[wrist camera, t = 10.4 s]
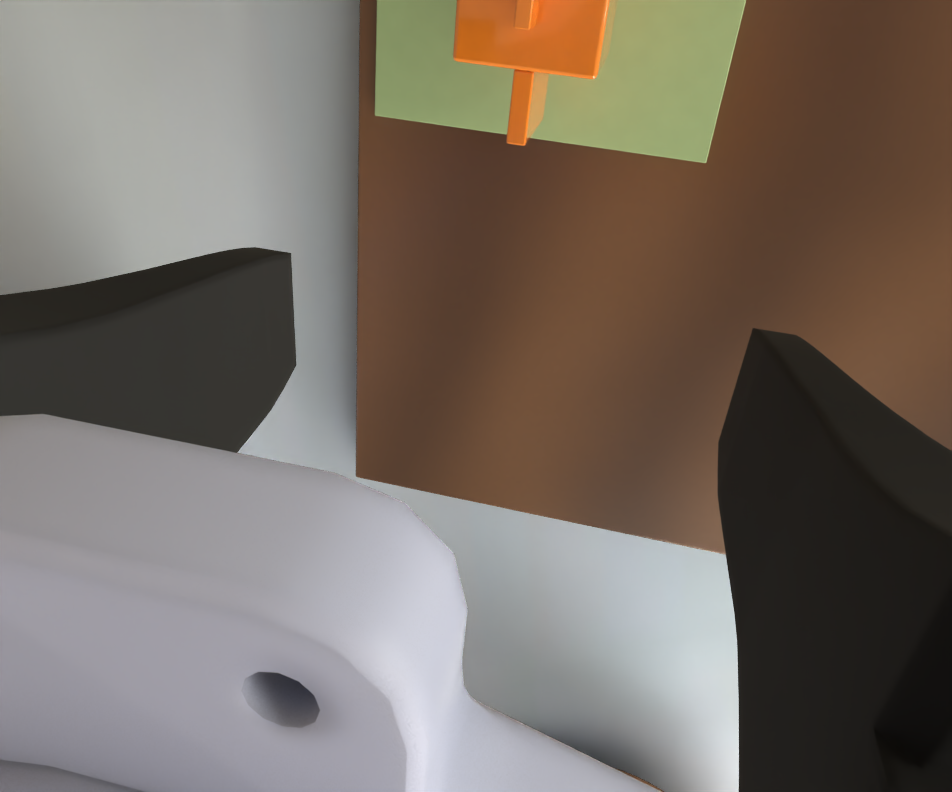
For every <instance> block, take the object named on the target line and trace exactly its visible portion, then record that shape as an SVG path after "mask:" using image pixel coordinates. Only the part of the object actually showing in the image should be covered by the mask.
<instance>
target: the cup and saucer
mask: <svg viewBox="0 0 952 792" xmlns="http://www.w3.org/2000/svg"><path fill="white" fill-rule="evenodd" d="M612 768H613V767H612ZM614 769H616V768H614ZM617 770H619V769H617ZM619 771H621V772H623V773H625V774H627V775H629V776H631V777H633V778H635V779H637V780H639V781H641V782H643V783H645V784H647V785H649V786H651V787H653V788H655V789H657V790H659V791H661V792H664V791H662V790H661V789H659V788H658V787H656V786H654V785H652V784H651V783H649V782H647V781H645V780H643V779H641V778H639V777H637V776H634V775H632V774H629V773H627V772H625V771H622V770H619Z"/></svg>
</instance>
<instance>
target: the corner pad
mask: <svg viewBox="0 0 952 792" xmlns="http://www.w3.org/2000/svg"><path fill="white" fill-rule="evenodd" d="M456 3H457V0H377V24H376V77H375V115H376V116H382V117H389V118H396V119H403V120H410V121H417V122H423V123H430V124H437V125H444V126H451V127H458V128H465V129H472V130H479V131H486V132H493V133H500V134H507V129H508V120H509V111H510V101H511V92H512V83H513V73H514V70H515V69H507V68H500V67H492V66H484V65H477V64H469V63H462V62H457V61H455V60H454V58H453V47H454V32H455V17H456ZM745 3H746V0H617V6H616V12H615V18H614V24H613V30H612V36H611V42H610V48H609V54H608V56H607V58H606V60H605V62H604V64H603V66H602V68H601V70H600V72H599V74H598V75H597V77H596V79H592V80H590V79H583V78H575V77H568V76H560V75H553V74H549V77H548V85H547V93H546V100H545V108H544V116H543V120H542V121H541V123H540V124H539V126H538V127H537V129H536V130H535V132H534V133H533V134H532V136H531V137H530V138H535V139H542V140H549V141H555V142H562V143H569V144H576V145H583V146H590V147H597V148H604V149H611V150H618V151H625V152H632V153H639V154H646V155H653V156H660V157H667V158H674V159H681V160H687V161H694V162H701V163H706V161H707V157H708V153H709V149H710V145H711V141H712V137H713V133H714V129H715V125H716V121H717V116H718V112H719V108H720V104H721V100H722V96H723V92H724V88H725V84H726V80H727V76H728V72H729V68H730V64H731V60H732V55H733V51H734V47H735V43H736V39H737V35H738V31H739V27H740V23H741V19H742V15H743V11H744V7H745Z"/></svg>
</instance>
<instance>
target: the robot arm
mask: <svg viewBox="0 0 952 792" xmlns="http://www.w3.org/2000/svg"><path fill="white" fill-rule="evenodd" d="M295 367H296V350H295V329H294V308H293V287H292V267H291V253H287V252H280V251H274V250H268V249H262V248H256V247H254V248H240V249H233V250H227V251H222V252H217V253H212V254H208V255H204V256H199V257H195V258H191V259H187V260H183V261H179V262H175V263H170V264H166V265H162V266H158V267H154V268H150V269H146V270H141V271H137V272H132V273H128V274H123V275H118V276H114V277H109V278H104V279H100V280H95V281H91V282H86V283H81V284H75V285H70V286H64V287H58V288H51V289H45V290H37V291H30V292H22V293H15V294H6V295H0V792H661V791H659V790H657V789H655V788H653V787H651V786H649V785H647V784H645V783H643V782H641V781H639V780H637V779H635V778H633V777H631V776H629V775H627V774H625V773H623V772H621V771H619V770H617V769H614V768H612V767H610V766H608V765H606V764H604V763H602V762H600V761H598V760H596V759H594V758H592V757H590V756H588V755H586V754H584V753H582V752H580V751H578V750H576V749H574V748H572V747H570V746H568V745H566V744H564V743H562V742H560V741H558V740H556V739H554V738H552V737H549V736H547V735H545V734H543V733H541V732H539V731H537V730H535V729H533V728H531V727H529V726H527V725H525V724H523V723H521V722H519V721H517V720H515V719H513V718H511V717H509V716H507V715H505V714H503V713H501V712H499V711H497V710H495V709H493V708H491V707H489V706H487V705H485V704H482V703H480V702H478V701H476V700H475V699H474V698H473V697H472V696H471V695H470V694H469V693H468V692H467V690H466V688H465V686H464V680H463V668H462V656H463V647H464V637H465V628H466V619H467V609H468V608H467V604H466V600H465V596H464V592H463V588H462V584H461V580H460V576H459V572H458V567H457V563H456V559H455V555H454V553H453V552H452V551H451V550H450V549H449V548H448V547H447V546H446V545H445V544H444V543H443V542H442V541H441V540H440V539H439V537H438V536H437V535H436V534H435V533H434V532H433V531H432V530H431V529H430V528H429V527H428V526H427V525H426V524H425V523H424V522H423V521H422V520H421V519H420V518H419V517H418V516H417V514H416V513H415V512H414V511H413V510H412V509H411V508H410V507H409V506H408V505H407V504H406V503H405V502H403V501H400V500H398V499H395V498H393V497H391V496H388V495H386V494H384V493H381V492H379V491H377V490H374V489H372V488H370V487H367V486H365V485H362V484H360V483H358V482H355V481H353V480H351V479H348V478H346V477H344V476H341V475H339V474H336V473H334V472H329V471H324V470H319V469H314V468H309V467H304V466H299V465H294V464H289V463H284V462H279V461H274V460H269V459H264V458H259V457H254V456H249V455H244V454H239V453H237V452H238V451H239V450H240V448H241V447H242V446H243V445H244V443H245V442H246V441H247V440H248V438H249V437H250V436H251V435H252V433H253V432H254V431H255V430H256V428H257V427H258V426H259V425H260V423H261V422H262V421H263V420H264V418H265V417H266V416H267V414H268V413H269V412H270V411H271V409H272V408H273V406H274V404H275V402H276V401H277V399H278V397H279V396H280V394H281V392H282V391H283V389H284V387H285V385H286V383H287V381H288V380H289V378H290V376H291V374H292V372H293V370H294V368H295ZM718 502H719V510H720V517H721V524H722V531H723V538H724V545H725V552H726V558H727V565H728V572H729V579H730V585H731V592H732V599H733V606H734V612H735V622H736V632H737V645H738V687H739V792H952V451H951V450H949V449H948V448H946V447H945V446H943V445H941V444H940V443H938V442H937V441H935V440H934V439H932V438H931V437H929V436H928V435H926V434H925V433H923V432H922V431H921V430H919V429H918V428H916V427H915V426H914V425H912V424H911V423H909V422H908V421H907V420H905V419H904V418H902V417H901V416H900V415H898V414H897V413H895V412H894V411H893V410H891V409H890V408H889V407H887V406H886V405H885V404H884V403H882V402H881V401H880V400H878V399H877V398H876V397H875V396H873V395H872V394H871V393H869V392H868V391H867V390H866V389H865V388H863V387H862V386H861V385H860V384H858V383H857V382H856V381H855V380H853V379H852V378H851V377H850V376H849V375H847V374H846V373H845V372H844V371H843V370H841V369H840V368H839V367H838V366H837V365H835V364H834V363H833V362H832V361H831V360H830V359H828V358H827V357H826V356H825V355H823V354H822V353H821V352H820V351H819V350H817V349H816V348H815V347H813V346H812V345H811V344H810V343H808V342H807V341H805V340H804V339H802V338H801V337H799V336H797V335H793V334H787V333H781V332H775V331H769V330H763V329H756V328H753V329H752V332H751V336H750V339H749V342H748V346H747V349H746V352H745V355H744V359H743V362H742V365H741V369H740V372H739V375H738V379H737V382H736V385H735V389H734V392H733V395H732V399H731V402H730V405H729V408H728V412H727V415H726V418H725V422H724V425H723V428H722V432H721V435H720V438H719V442H718Z"/></svg>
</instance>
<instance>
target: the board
mask: <svg viewBox="0 0 952 792" xmlns="http://www.w3.org/2000/svg"><path fill="white" fill-rule="evenodd" d="M376 24H377V0H360V33H359V152H358V271H357V390H356V477H359V478H364V479H369V480H373V481H378V482H383V483H388V484H392V485H397V486H402V487H407V488H411V489H416V490H421V491H426V492H430V493H435V494H440V495H445V496H449V497H454V498H459V499H464V500H468V501H473V502H478V503H483V504H487V505H492V506H497V507H502V508H506V509H511V510H516V511H521V512H525V513H530V514H535V515H540V516H544V517H549V518H554V519H559V520H564V521H568V522H573V523H578V524H583V525H587V526H592V527H597V528H602V529H606V530H611V531H616V532H621V533H625V534H630V535H635V536H640V537H644V538H649V539H654V540H659V541H663V542H668V543H673V544H678V545H682V546H687V547H692V548H697V549H701V550H706V551H711V552H716V553H720V554H725V555H726V552H725V545H724V538H723V531H722V524H721V517H720V510H719V502H718V442H719V438H720V435H721V432H722V428H723V425H724V422H725V418H726V415H727V412H728V408H729V405H730V402H731V399H732V395H733V392H734V389H735V385H736V382H737V379H738V375H739V372H740V369H741V365H742V362H743V359H744V355H745V352H746V349H747V346H748V342H749V339H750V336H751V332H752V329H753V328H756V329H763V330H769V331H775V332H781V333H787V334H793V335H797V336H799V337H801V338H802V339H804V340H805V341H807V342H808V343H810V344H811V345H812V346H813V347H815V348H816V349H817V350H819V351H820V352H821V353H822V354H823V355H825V356H826V357H827V358H828V359H830V360H831V361H832V362H833V363H834V364H835V365H837V366H838V367H839V368H840V369H841V370H843V371H844V372H845V373H846V374H847V375H849V376H850V377H851V378H852V379H853V380H855V381H856V382H857V383H858V384H860V385H861V386H862V387H863V388H865V389H866V390H867V391H868V392H869V393H871V394H872V395H873V396H875V397H876V398H877V399H878V400H880V401H881V402H882V403H884V404H885V405H886V406H887V407H889V408H890V409H891V410H893V411H894V412H895V413H897V414H898V415H900V416H901V417H902V418H904V419H905V420H907V421H908V422H909V423H911V424H912V425H914V426H915V427H916V428H918V429H919V430H921V431H922V432H923V433H925V434H926V435H928V436H929V437H931V438H932V439H934V440H935V441H937V442H938V443H940V444H941V445H943V446H945V447H946V448H948V449H949V450H951V451H952V0H746V3H745V7H744V11H743V15H742V19H741V23H740V27H739V31H738V35H737V39H736V43H735V47H734V51H733V55H732V60H731V64H730V68H729V72H728V76H727V80H726V84H725V88H724V92H723V96H722V100H721V104H720V108H719V112H718V116H717V121H716V125H715V129H714V133H713V137H712V141H711V145H710V149H709V153H708V157H707V161H706V163H701V162H694V161H687V160H681V159H674V158H667V157H660V156H653V155H646V154H639V153H632V152H625V151H618V150H611V149H604V148H597V147H590V146H583V145H576V144H569V143H562V142H555V141H549V140H542V139H535V138H530V139H529V140H528V142H527V143H526V145H525V146H520V145H513V144H508V143H507V142H506V138H507V134H500V133H493V132H486V131H479V130H472V129H465V128H458V127H451V126H444V125H437V124H430V123H423V122H417V121H410V120H403V119H396V118H389V117H382V116H376V115H375V77H376Z"/></svg>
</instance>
